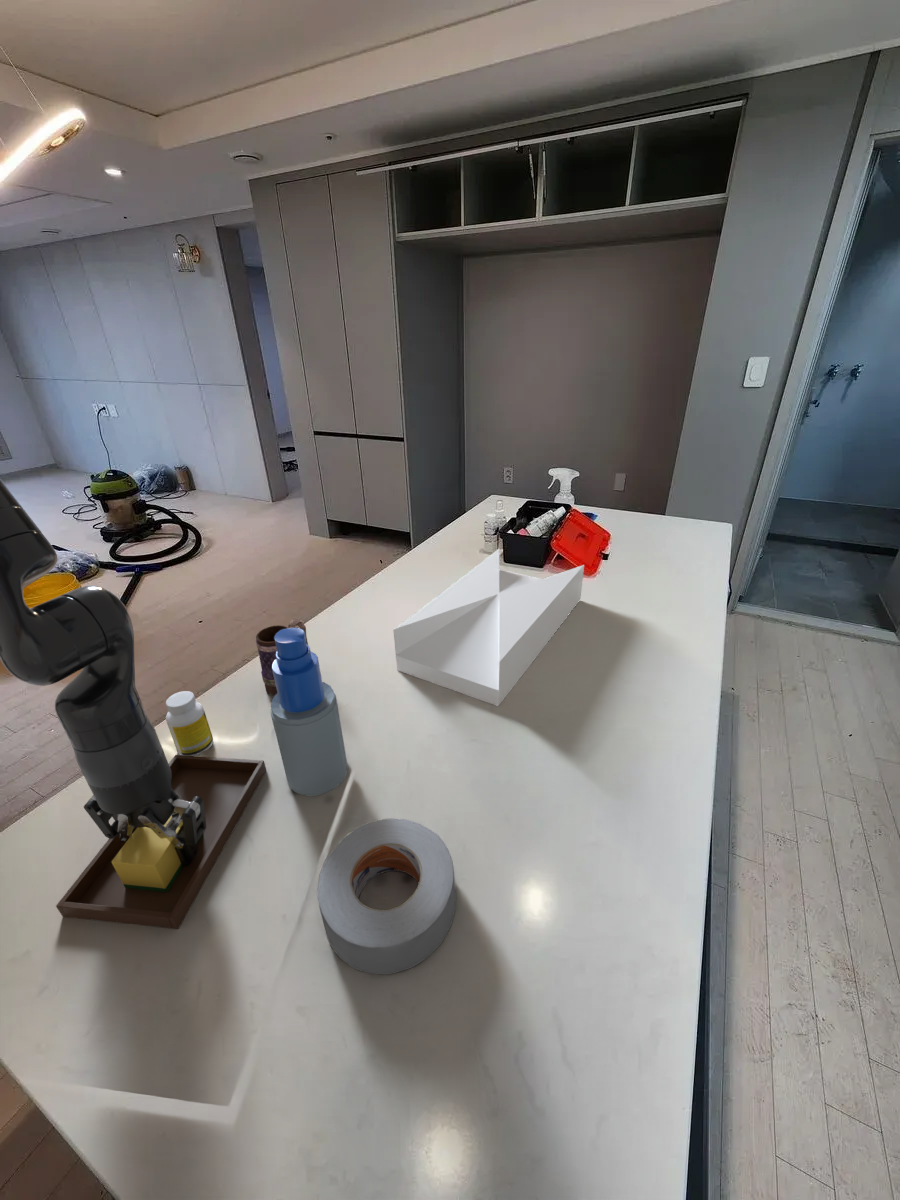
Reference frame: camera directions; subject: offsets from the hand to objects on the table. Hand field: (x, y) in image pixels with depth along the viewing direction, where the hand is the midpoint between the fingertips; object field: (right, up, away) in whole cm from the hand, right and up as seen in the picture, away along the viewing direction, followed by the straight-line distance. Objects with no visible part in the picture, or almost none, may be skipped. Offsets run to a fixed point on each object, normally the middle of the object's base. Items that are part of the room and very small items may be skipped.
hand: (167, 856), depth 64 cm
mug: (+5, +17, +33) cm, 38 cm away
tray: (0, +1, +4) cm, 4 cm away
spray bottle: (+16, +6, +12) cm, 21 cm away
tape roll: (+29, -3, -5) cm, 30 cm away
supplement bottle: (-5, +9, +18) cm, 21 cm away
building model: (+47, +26, +47) cm, 71 cm away
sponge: (0, 0, 0) cm, 0 cm away
